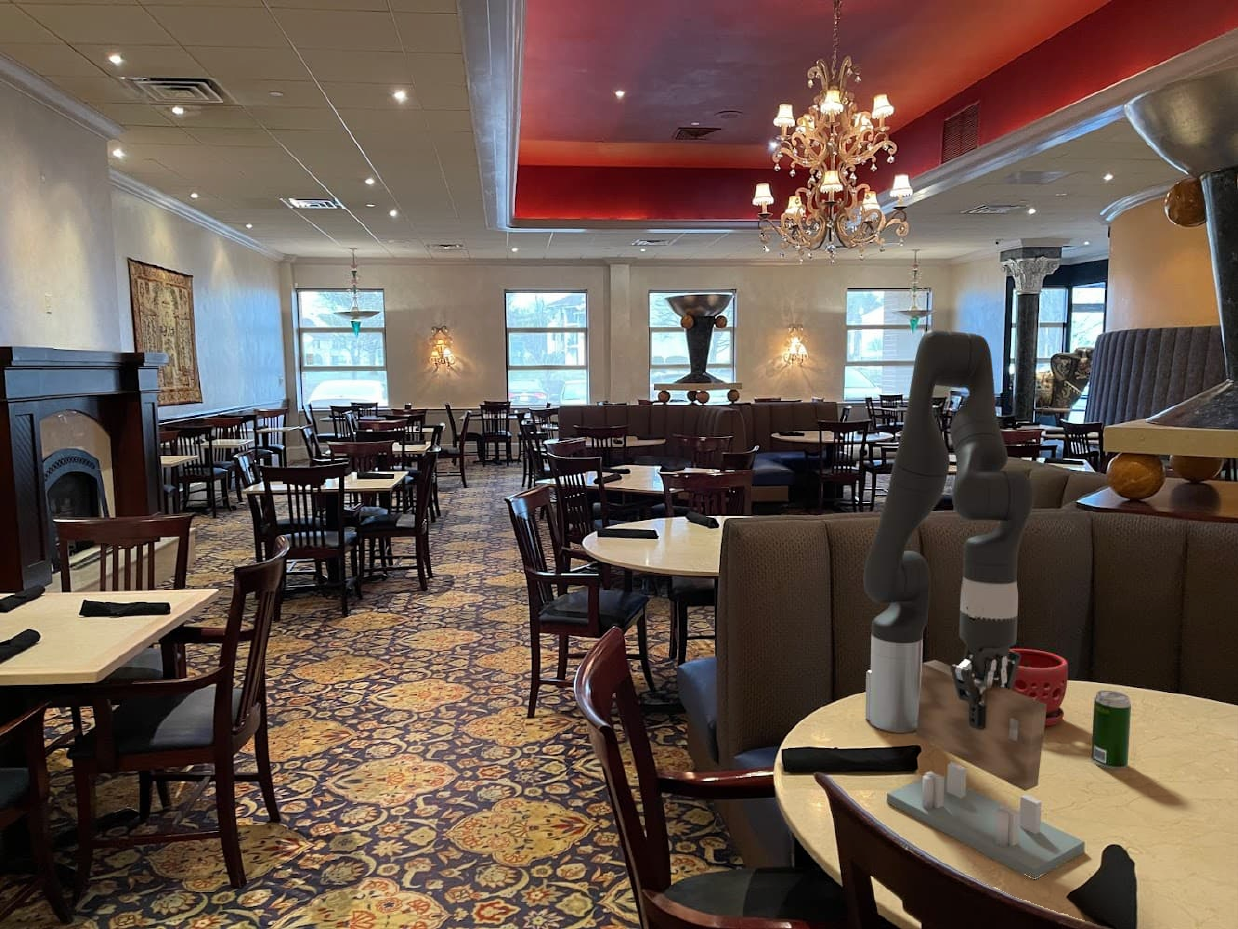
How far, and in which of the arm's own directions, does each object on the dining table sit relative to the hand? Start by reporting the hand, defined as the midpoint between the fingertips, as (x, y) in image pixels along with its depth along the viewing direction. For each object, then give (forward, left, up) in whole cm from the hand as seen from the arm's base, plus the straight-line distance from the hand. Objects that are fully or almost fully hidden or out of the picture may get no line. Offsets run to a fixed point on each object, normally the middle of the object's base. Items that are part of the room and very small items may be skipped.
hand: (984, 724), depth 120 cm
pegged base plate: (0, 0, -16) cm, 16 cm away
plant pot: (-19, +43, -16) cm, 50 cm away
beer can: (0, +36, -16) cm, 39 cm away
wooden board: (-2, 0, -6) cm, 6 cm away
